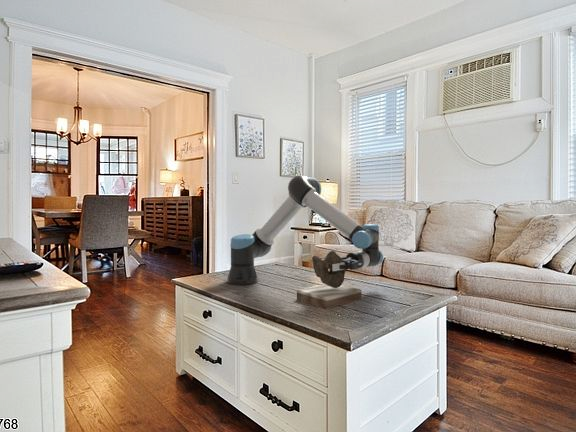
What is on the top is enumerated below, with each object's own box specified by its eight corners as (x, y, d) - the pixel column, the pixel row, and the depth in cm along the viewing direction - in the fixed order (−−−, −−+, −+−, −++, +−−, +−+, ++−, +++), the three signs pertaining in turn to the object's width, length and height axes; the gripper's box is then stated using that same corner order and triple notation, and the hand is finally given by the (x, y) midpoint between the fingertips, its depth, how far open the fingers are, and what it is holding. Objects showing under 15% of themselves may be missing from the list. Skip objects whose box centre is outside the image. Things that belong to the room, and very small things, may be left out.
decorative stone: (323, 291, 142) (324, 253, 142) (306, 286, 151) (306, 250, 151) (352, 286, 152) (352, 250, 151) (334, 281, 161) (334, 247, 160)
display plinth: (296, 299, 151) (296, 289, 151) (331, 291, 165) (331, 282, 165) (326, 308, 139) (326, 298, 138) (361, 299, 152) (361, 289, 152)
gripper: (378, 272, 154) (344, 279, 140) (337, 265, 172) (303, 270, 158) (378, 254, 154) (344, 260, 140) (337, 249, 172) (303, 253, 157)
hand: (322, 265), depth 149 cm, fingers closed on decorative stone, 11 cm apart
